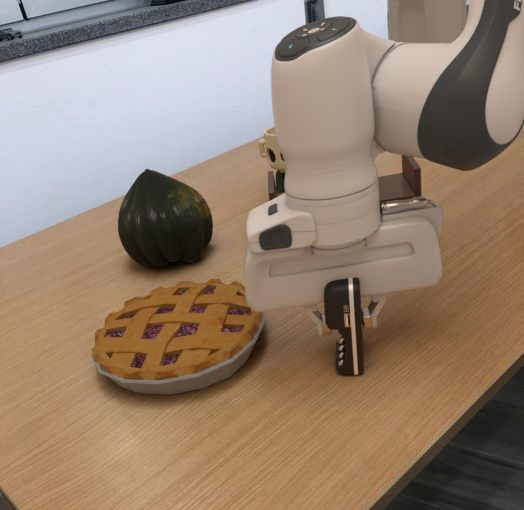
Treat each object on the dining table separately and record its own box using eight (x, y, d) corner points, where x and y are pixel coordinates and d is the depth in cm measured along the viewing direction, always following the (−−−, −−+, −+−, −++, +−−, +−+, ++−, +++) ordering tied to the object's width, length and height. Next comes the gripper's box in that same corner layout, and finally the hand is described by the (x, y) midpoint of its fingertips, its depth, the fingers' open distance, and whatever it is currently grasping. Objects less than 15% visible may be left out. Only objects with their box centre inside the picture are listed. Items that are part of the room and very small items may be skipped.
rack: (409, 232, 92) (407, 147, 85) (422, 258, 85) (420, 167, 77) (281, 252, 94) (267, 171, 87) (282, 279, 87) (268, 193, 79)
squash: (182, 254, 86) (187, 153, 88) (95, 259, 92) (101, 165, 93) (223, 275, 100) (226, 188, 101) (145, 279, 105) (149, 196, 106)
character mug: (259, 206, 112) (246, 135, 104) (276, 191, 116) (265, 123, 109) (312, 208, 106) (303, 134, 99) (328, 192, 111) (320, 121, 104)
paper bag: (400, 114, 145) (395, -20, 130) (464, 108, 140) (467, -32, 124) (387, 139, 131) (379, -7, 115) (458, 134, 126) (460, -20, 110)
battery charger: (330, 342, 71) (322, 256, 65) (363, 341, 71) (358, 253, 64) (329, 378, 66) (320, 288, 59) (364, 377, 65) (359, 285, 59)
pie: (128, 311, 87) (117, 281, 84) (276, 296, 83) (271, 264, 80) (74, 411, 69) (59, 377, 66) (260, 398, 65) (252, 362, 62)
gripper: (434, 181, 60) (435, 300, 68) (233, 215, 62) (256, 326, 70) (451, 205, 55) (450, 331, 62) (230, 240, 57) (256, 358, 64)
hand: (346, 329), depth 66 cm, fingers closed on battery charger, 3 cm apart
